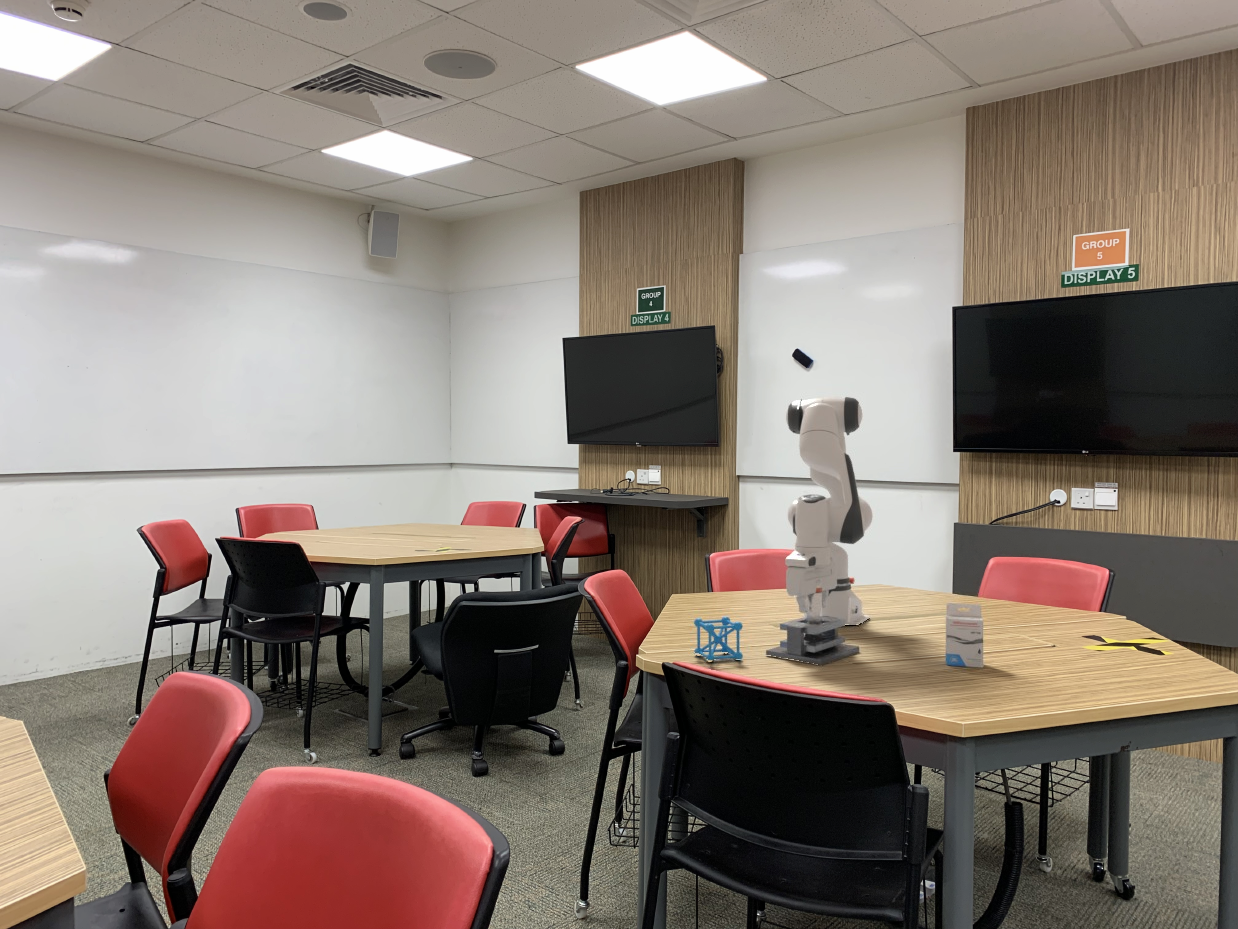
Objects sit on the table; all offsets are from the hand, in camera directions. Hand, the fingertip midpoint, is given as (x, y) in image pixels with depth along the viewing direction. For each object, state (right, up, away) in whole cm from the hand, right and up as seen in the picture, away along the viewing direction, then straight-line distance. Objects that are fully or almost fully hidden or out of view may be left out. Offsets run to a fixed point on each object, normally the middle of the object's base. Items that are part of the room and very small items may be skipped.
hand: (812, 609), depth 224 cm
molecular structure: (-25, -12, -4) cm, 28 cm away
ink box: (+35, -12, -13) cm, 39 cm away
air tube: (0, -10, 0) cm, 10 cm away
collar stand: (0, -12, 0) cm, 12 cm away
